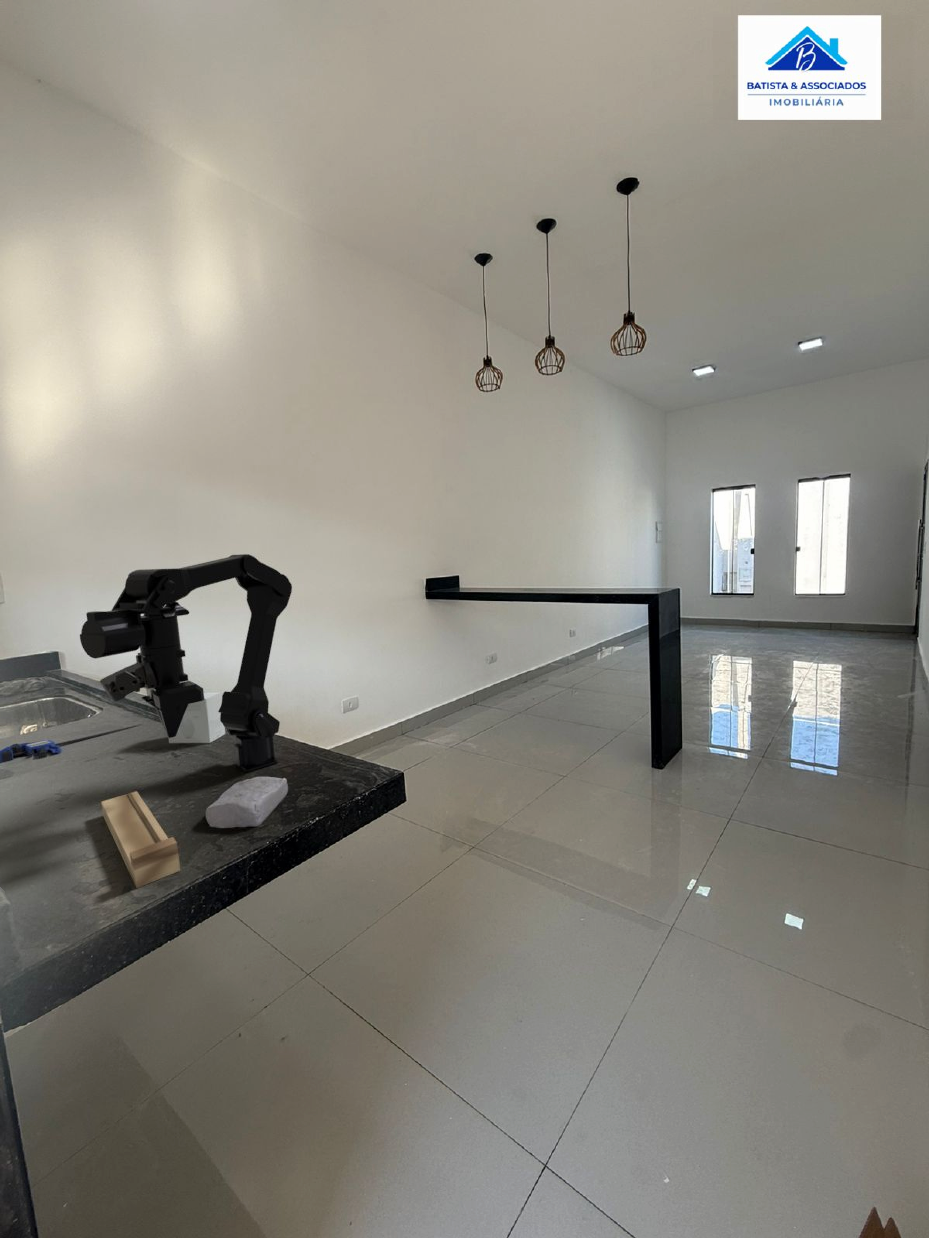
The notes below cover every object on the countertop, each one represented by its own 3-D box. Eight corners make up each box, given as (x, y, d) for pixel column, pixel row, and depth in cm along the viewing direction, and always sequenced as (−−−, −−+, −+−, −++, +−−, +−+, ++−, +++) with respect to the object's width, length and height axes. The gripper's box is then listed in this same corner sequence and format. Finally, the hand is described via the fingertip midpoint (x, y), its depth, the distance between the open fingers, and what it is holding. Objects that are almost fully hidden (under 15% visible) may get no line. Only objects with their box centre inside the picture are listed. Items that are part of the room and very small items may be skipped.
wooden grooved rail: (138, 804, 86) (135, 782, 86) (180, 870, 67) (176, 842, 67) (103, 815, 83) (99, 793, 82) (136, 888, 64) (132, 859, 63)
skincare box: (226, 733, 120) (222, 691, 119) (210, 743, 114) (205, 699, 113) (186, 733, 122) (181, 691, 120) (167, 743, 115) (162, 699, 114)
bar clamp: (4, 758, 104) (-7, 748, 110) (5, 770, 104) (-6, 759, 110) (170, 719, 129) (154, 713, 136) (171, 729, 130) (155, 722, 136)
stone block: (203, 840, 78) (263, 827, 77) (194, 811, 78) (254, 798, 77) (242, 804, 90) (294, 793, 89) (234, 779, 89) (287, 768, 89)
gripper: (89, 647, 83) (102, 737, 85) (114, 661, 70) (128, 767, 72) (165, 637, 91) (175, 720, 93) (199, 648, 78) (210, 744, 80)
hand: (171, 736), depth 84 cm, fingers closed
